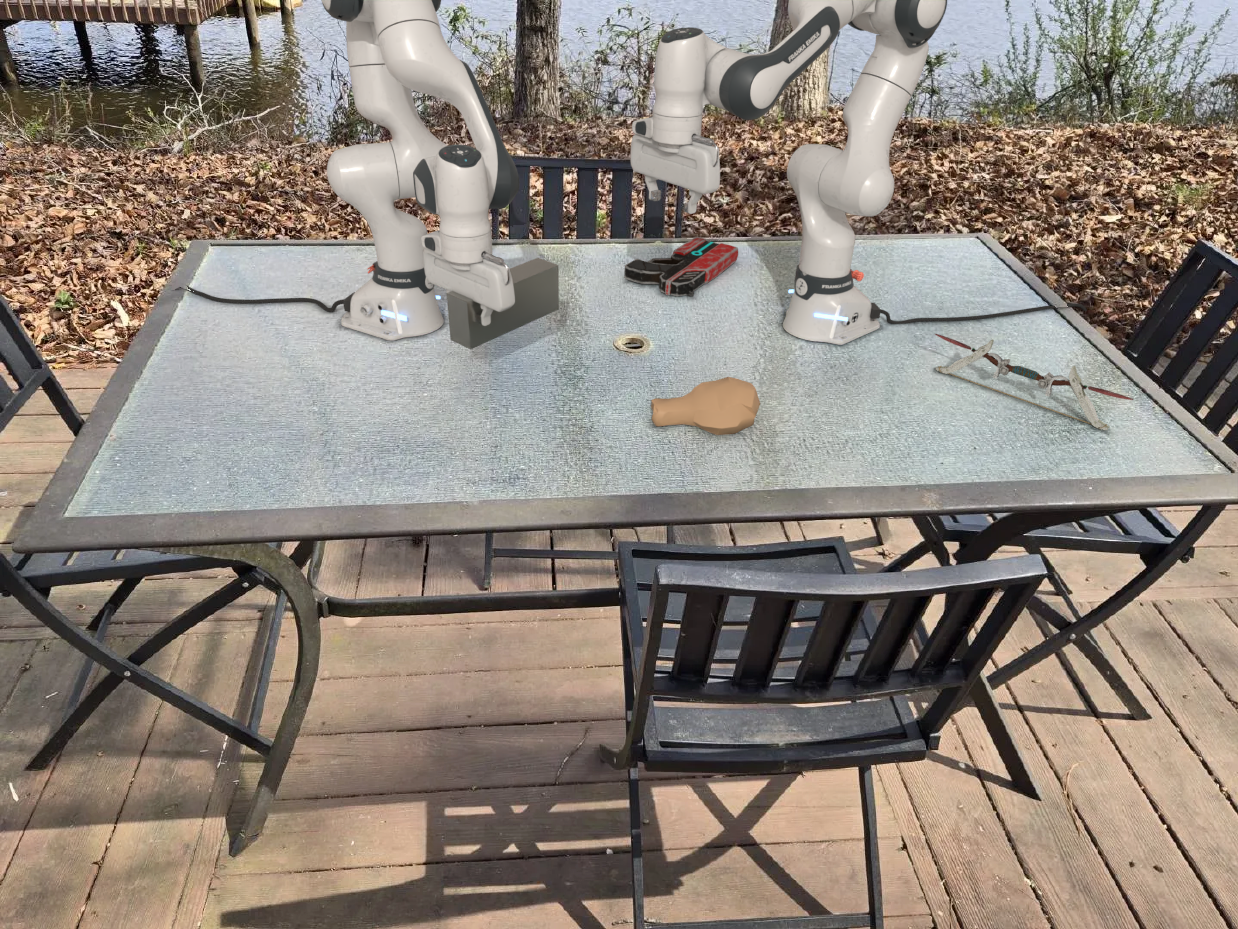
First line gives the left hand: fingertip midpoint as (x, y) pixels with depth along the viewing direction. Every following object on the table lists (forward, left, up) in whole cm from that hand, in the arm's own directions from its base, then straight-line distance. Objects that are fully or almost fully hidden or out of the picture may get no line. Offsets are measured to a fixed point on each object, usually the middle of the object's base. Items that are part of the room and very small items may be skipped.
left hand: (471, 318), depth 160 cm
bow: (+100, +37, -16) cm, 108 cm away
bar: (+3, +8, -4) cm, 10 cm away
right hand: (+30, +26, +17) cm, 43 cm away
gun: (+21, +77, -16) cm, 81 cm away
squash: (+44, +5, -16) cm, 47 cm away
